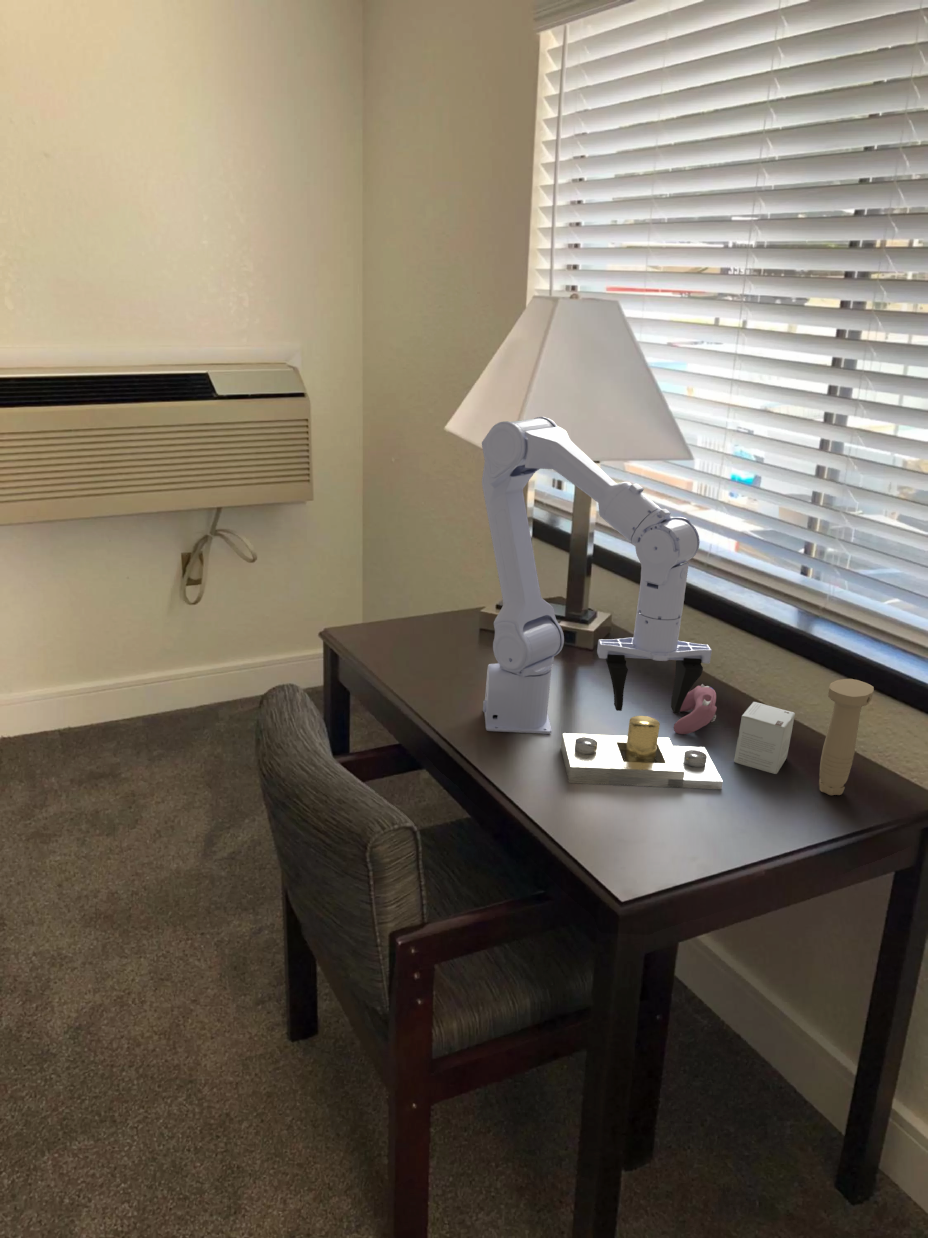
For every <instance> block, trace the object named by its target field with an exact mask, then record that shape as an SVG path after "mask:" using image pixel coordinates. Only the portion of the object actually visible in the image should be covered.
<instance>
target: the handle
mask: <svg viewBox="0 0 928 1238" xmlns="http://www.w3.org/2000/svg"><path fill="white" fill-rule="evenodd" d="M874 689H875V688H874V686H873V685H871V684H869V683H868V682H865V681H861V680H859V679H853V678H841V679H837V680H834V681H832V682H831V683H829V688H828V694H827V696H828V698H829V699H830V700H831V701H832V702H834V704H833V709H832V713H831V716H830V720H829V724H828V727H827V732H826V736H825V739H824V743H823V747H822V751H821V756H820V764H819V779H818V786H819V791H820V792H821V793H825V794H827V795H829V796H834V795H835V796H836V795H837V796H840V795H842V794H843V793H844V790H845V788H846V786H844V785H845V784H846V783H847V781H848V780H849V777H850V776H849V775H850V773H851V768H852V765H853V763H854V762H853V761H854V757H855V752H856V746H857V745H856V743H857V738H858V731H859V730H858V729H859V725H860V724H859V723H860V718H861V717H860V716H861V713H862V707H865V706H867V705H869V704H870V703H871V701H872V699H873V694H874Z"/></svg>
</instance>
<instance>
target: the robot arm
mask: <svg viewBox="0 0 928 1238" xmlns="http://www.w3.org/2000/svg"><path fill="white" fill-rule="evenodd" d="M481 447H482V453H483V459H484V462H483V463H484V464H483V471H482V478H481V486H482V492H483V499H484V505H485V509H486V514H487V518H488V519H487V520H488V526H489V530H490V536H491V541H492V542H491V543H492V548H493V553H494V559H495V563H496V564H495V565H496V570H497V575H498V581H499V587H500V591H501V597H502V603H503V604H502V607H501V609H500V610H499V611H498V614H497V615H496V617H495V618H494V621H493V627H494V637H493V638H494V639H493V641H492V650H493V656H494V658H495V660H496V661H497V663H489V664H487V668H486V669H487V670H486V682H485V683H486V684H485V696H484V697H485V698H484V700H483V702H482V704H483V705H482V711H483V713H484V720H485V721H484V723H485V730H486V731H488V732H500V733H501V732H503V733H520V734H521V733H527V734H544V735H545V734H546V735H548V734H549V735H551V734H552V727H551V721H550V716H549V713H548V710H549V702H550V701H549V698H550V688H551V678H552V669H553V665H554V664H555V663H554V662H555V656H557V655H558V654H560V652H561V651H562V649H563V647H564V645H565V644H564V643H565V636H564V632H563V629H562V626H561V625H560V624H559V622H558V621H557V618H556V614H555V610H554V607H553V606H552V605H551V604H550V603H549V602H547V601H546V600H545V599H544V598H543V597H542V593H541V588H540V582H539V577H538V571H537V565H536V559H535V552H534V548H533V547H534V546H533V542H532V537H531V530H530V525H529V519H528V513H527V507H526V502H525V495H524V488H525V487H526V485H527V484H528V483H529V481H531V479H532V477H533V476H534V475H535V473H536V472H537V471H539V470H541V469H543V470H544V469H545V470H553V471H555V472H557V473H558V474H559V475H560V476H562V477H563V478H564V479H566V480H567V481H568V482H570V483H571V484H572V485H574V486H575V487H576V488H578V489H579V490H581V491H582V492H583V493H585V494H586V495H587V496H589V498H591V499H593V500H594V501H595V502H597V505H598V514H599V517H600V518H601V519H603V520H604V521H605V522H606V524H609V526H611V528H613V529H614V530H615V531H617V532H618V533H619V534H620V535H622V536H623V537H624V539H626V540H627V541H629V543H631V544H632V545H633V546H634V547H635V552H636V556H637V559H638V560H639V562H640V566H641V569H640V583H639V591H638V599H637V607H636V615H635V623H634V632H633V637H624V638H614V639H613V638H611V639H603V638H601V639H598V641H597V648H596V649H597V650H596V654H597V655H598V659H605V662H606V664H607V669H608V670H609V671H608V672H609V675H610V679H611V683H612V690H613V705H614V709H615V710H616V711H620V712H621V711H623V705H624V692H625V691H624V689H625V686H626V680H627V679H626V678H627V675H628V672H629V669H628V668H629V667H627V660H626V658H627V659H628V658H629V659H651V660H652V661H658V662H659V661H662V662H667V661H669V660H670V661H671V660H672V661H675V672H674V684H673V689H672V693H671V702H670V708H671V710H672V712H673V713H674V714H680V712H681V711H680V709H681V706H682V704H683V702H684V699H685V697H686V696H687V694H688V692H690V691H691V688H692V687H693V686H694V684H695V683H696V682H697V680H699V678H700V677H701V676H702V674H703V670H704V668H703V665H702V664H710V663H711V658H712V651H713V650H712V648H711V647H710V646H709V644H702V643H695V642H689V641H681V640H679V636H680V630H681V625H682V624H681V622H682V615H683V608H684V601H685V593H686V587H687V580H688V579H687V578H688V573H689V566H690V565H689V564H690V563H689V562H688V561H690V560H691V559H692V558H694V557H695V556H696V554H697V553H698V551H699V549H700V542H701V541H700V535H699V533H698V531H697V530H698V529H696V527H695V526H694V525H693V524H692V523H691V521H690V519H688V518H686V517H684V516H683V517H682V516H671V512H670V511H669V510H668V509H667V508H661V507H660V506H659V505H658V504H656V503H655V502H654V501H653V500H652V499H650V497H648V496H647V495H645V494H644V493H643V491H644V490H645V489H644V487H642V486H641V485H640V484H639V483H633V484H632V483H631V482H629V481H622V482H618V483H617V482H616V481H615V480H613V479H612V478H611V477H610V476H609V475H608V474H607V473H606V472H605V471H604V470H603V469H602V468H601V467H600V466H598V464H596V462H595V461H593V460H592V459H591V458H590V457H589V456H588V455H587V454H586V453H585V452H584V451H583V450H581V449H580V447H578V445H577V444H575V443H574V442H573V441H572V440H571V438H570V436H569V434H568V432H567V430H566V429H564V428H563V427H560V426H558V425H557V423H555V421H554V420H552V419H551V418H549V417H546V416H537V417H535V418H530V419H523V420H513V421H499V422H497V423H495V424H494V425H493V426H492V427H491V428H490V430H489V431H488V433H487V434H486V435H485V436H484V439H483V440H482V441H481Z"/></svg>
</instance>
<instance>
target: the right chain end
mask: <svg viewBox="0 0 928 1238" xmlns="http://www.w3.org/2000/svg"><path fill="white" fill-rule="evenodd" d="M673 747H674V750H675V752H676V754H677V756H678V758H679V760H680V762H681V764H682V767H683V769H684V771H685V774H684V780H679V779H656V778H633V777H610V776H609V785H610V786H611V785H613V786H629V787H630V786H634V787H637V786H638V787H653V788H654V787H656V788H658V787H659V788H680V789H681V788H682V789H702V790H703V789H704V790H722V788H723V779H722V777H721V775H720V773H719V772H718V770H717V768H716V766H715V764H714V762H713V761H712V759H711V757H710V755H709V753H708V751H707V749H706V747H705V746H689V745H688V746H685V745H673ZM619 752H620V754H621V757H622V759H625V753H626V750H619ZM655 762H656V763H661V760H660V758H659V756H658V754H657V752H656V756H655Z"/></svg>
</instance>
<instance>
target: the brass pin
mask: <svg viewBox="0 0 928 1238" xmlns="http://www.w3.org/2000/svg"><path fill="white" fill-rule="evenodd" d="M660 723H661V722H660V721H658V719H656V718H654V717H651V716H646V715H635V716H632V717H630V719H629V723H628V728H627V729H628V730H627V736H628V737H627V745H626V753H625V758H624V760H623V762H640V763H656V759H655V756H656V748H657V741H658V737H659V732H660Z"/></svg>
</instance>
